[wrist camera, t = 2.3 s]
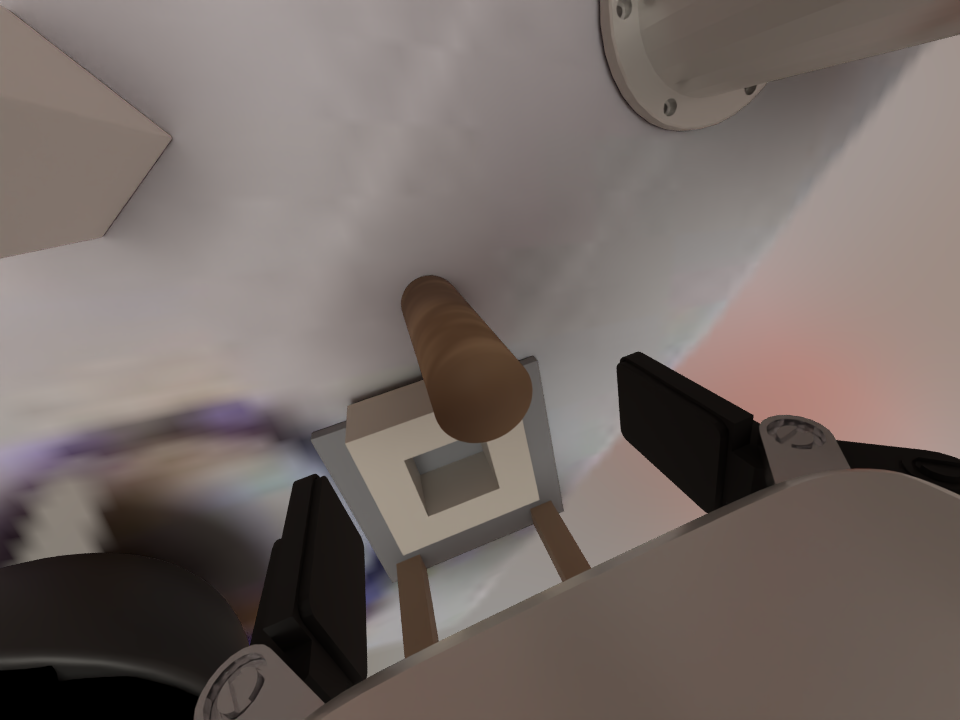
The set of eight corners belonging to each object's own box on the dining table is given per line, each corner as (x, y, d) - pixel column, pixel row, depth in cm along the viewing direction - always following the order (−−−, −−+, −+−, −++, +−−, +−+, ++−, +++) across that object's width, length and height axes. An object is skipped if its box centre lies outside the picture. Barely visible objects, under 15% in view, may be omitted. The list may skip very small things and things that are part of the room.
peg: (450, 268, 23) (523, 338, 13) (464, 321, 25) (539, 422, 14) (393, 285, 22) (419, 374, 12) (411, 338, 24) (449, 456, 14)
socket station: (529, 337, 27) (740, 532, 12) (560, 508, 35) (705, 746, 20) (302, 415, 24) (208, 778, 9) (393, 577, 33) (419, 903, 18)
